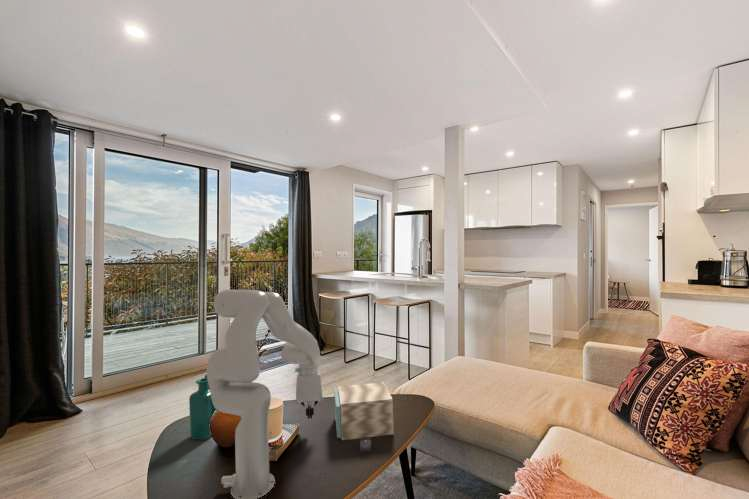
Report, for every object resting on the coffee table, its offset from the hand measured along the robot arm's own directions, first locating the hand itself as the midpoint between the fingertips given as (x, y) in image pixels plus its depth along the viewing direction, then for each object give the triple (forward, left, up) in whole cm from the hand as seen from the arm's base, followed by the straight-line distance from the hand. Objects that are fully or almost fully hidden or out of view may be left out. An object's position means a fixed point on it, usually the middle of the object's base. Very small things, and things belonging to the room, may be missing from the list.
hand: (310, 417), depth 137 cm
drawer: (+20, 0, -5) cm, 21 cm away
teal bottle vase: (-41, +8, -6) cm, 42 cm away
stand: (+20, -17, -6) cm, 27 cm away
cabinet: (+22, 0, -6) cm, 22 cm away
